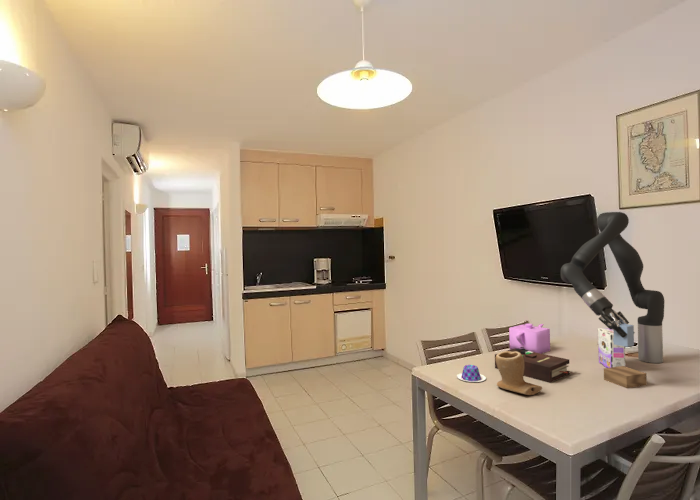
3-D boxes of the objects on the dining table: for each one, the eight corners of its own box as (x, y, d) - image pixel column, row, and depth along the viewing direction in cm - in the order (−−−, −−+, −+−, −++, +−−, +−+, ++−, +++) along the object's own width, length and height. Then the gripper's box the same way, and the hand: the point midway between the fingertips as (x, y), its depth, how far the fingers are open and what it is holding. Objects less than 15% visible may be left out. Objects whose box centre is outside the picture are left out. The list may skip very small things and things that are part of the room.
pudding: (481, 385, 159) (481, 372, 159) (452, 380, 166) (452, 368, 166) (489, 376, 169) (489, 364, 169) (462, 372, 176) (461, 360, 176)
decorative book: (553, 367, 156) (488, 352, 181) (554, 386, 156) (488, 368, 181) (576, 358, 168) (512, 344, 192) (576, 375, 168) (512, 360, 192)
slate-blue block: (620, 342, 160) (619, 323, 160) (634, 345, 156) (633, 325, 156) (613, 344, 158) (613, 324, 158) (627, 347, 154) (627, 326, 153)
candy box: (626, 372, 169) (625, 334, 169) (611, 371, 170) (610, 334, 170) (611, 362, 182) (611, 327, 182) (597, 362, 184) (597, 327, 183)
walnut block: (623, 377, 163) (622, 365, 163) (646, 385, 154) (646, 373, 153) (603, 380, 161) (603, 368, 161) (626, 389, 151) (626, 376, 151)
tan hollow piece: (489, 388, 155) (488, 351, 154) (507, 382, 161) (506, 346, 161) (525, 400, 142) (524, 360, 142) (543, 393, 149) (542, 354, 149)
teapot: (557, 348, 209) (556, 322, 209) (531, 357, 195) (530, 329, 195) (530, 343, 222) (529, 318, 221) (504, 350, 207) (503, 324, 207)
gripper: (593, 297, 160) (626, 332, 149) (612, 294, 167) (645, 327, 156) (580, 309, 164) (612, 343, 154) (599, 305, 171) (630, 338, 161)
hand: (628, 335), depth 155 cm, fingers closed on slate-blue block, 5 cm apart
